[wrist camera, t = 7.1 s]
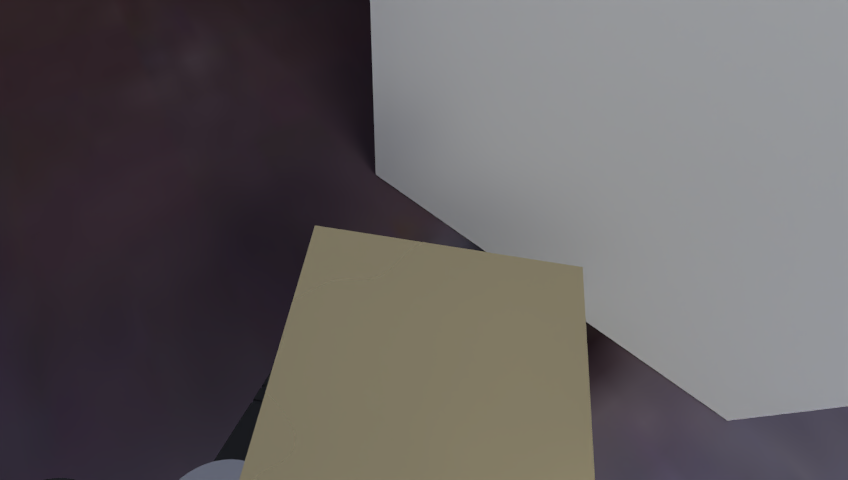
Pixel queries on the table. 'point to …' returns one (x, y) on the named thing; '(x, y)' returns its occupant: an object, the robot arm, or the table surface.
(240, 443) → the robot arm
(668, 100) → the box
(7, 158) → the table surface
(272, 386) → the tan rectangular block
